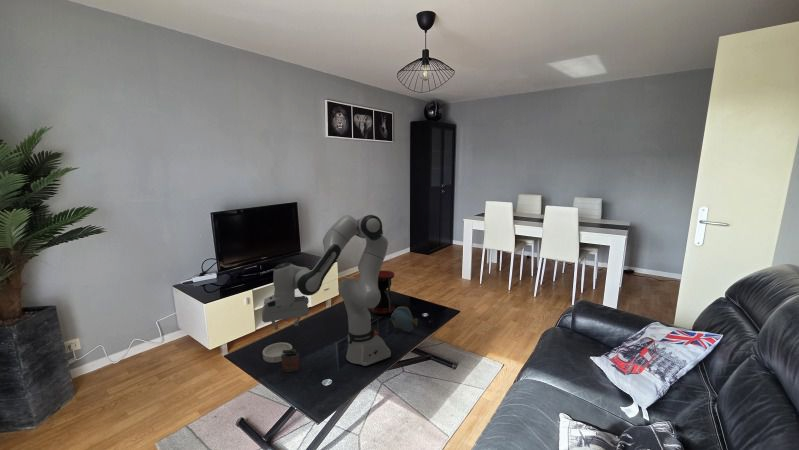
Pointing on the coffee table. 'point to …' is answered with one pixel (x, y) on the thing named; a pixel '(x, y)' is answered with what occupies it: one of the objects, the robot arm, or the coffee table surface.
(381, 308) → the hourglass
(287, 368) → the lighter
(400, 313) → the decorative fish sculpture
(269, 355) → the ring dish
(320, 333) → the coffee table surface
